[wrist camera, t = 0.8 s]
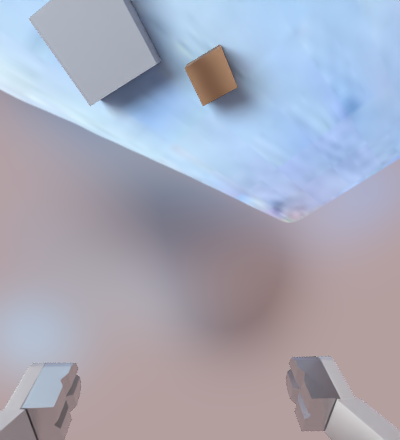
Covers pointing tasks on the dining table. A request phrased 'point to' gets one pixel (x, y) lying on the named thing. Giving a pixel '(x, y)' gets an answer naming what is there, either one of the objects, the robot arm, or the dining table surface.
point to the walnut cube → (211, 75)
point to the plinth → (96, 43)
